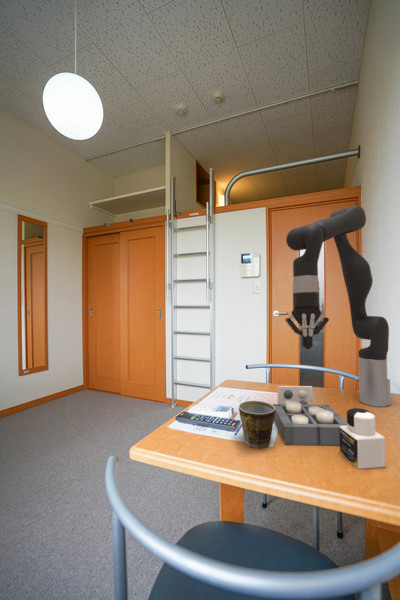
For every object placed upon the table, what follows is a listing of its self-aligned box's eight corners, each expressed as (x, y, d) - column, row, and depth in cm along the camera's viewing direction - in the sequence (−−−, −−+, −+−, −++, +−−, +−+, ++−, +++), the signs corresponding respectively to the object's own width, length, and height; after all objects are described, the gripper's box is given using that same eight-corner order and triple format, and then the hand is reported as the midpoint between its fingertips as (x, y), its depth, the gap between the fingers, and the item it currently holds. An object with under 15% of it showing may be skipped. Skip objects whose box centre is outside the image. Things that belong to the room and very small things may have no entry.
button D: (305, 424, 82) (305, 414, 82) (310, 432, 78) (310, 421, 78) (290, 424, 83) (289, 414, 83) (294, 431, 78) (293, 421, 78)
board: (328, 419, 91) (328, 404, 91) (353, 446, 74) (352, 427, 74) (273, 419, 92) (272, 404, 92) (284, 444, 75) (284, 426, 76)
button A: (321, 415, 89) (321, 406, 89) (326, 421, 84) (326, 412, 84) (306, 415, 89) (306, 406, 89) (311, 421, 84) (311, 411, 84)
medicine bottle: (339, 453, 71) (338, 406, 71) (365, 451, 72) (364, 405, 72) (357, 469, 64) (356, 417, 64) (386, 467, 64) (385, 416, 65)
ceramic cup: (247, 431, 84) (246, 398, 84) (280, 439, 79) (279, 404, 79) (229, 451, 73) (228, 413, 73) (266, 462, 67) (265, 421, 68)
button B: (329, 419, 82) (329, 409, 82) (336, 426, 77) (336, 416, 77) (313, 419, 82) (313, 409, 82) (319, 426, 77) (319, 415, 77)
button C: (298, 410, 89) (298, 401, 89) (303, 416, 85) (303, 406, 85) (284, 410, 90) (284, 401, 90) (287, 416, 85) (287, 406, 85)
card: (312, 411, 98) (311, 386, 98) (313, 412, 97) (312, 387, 97) (277, 411, 99) (277, 385, 99) (278, 412, 98) (278, 386, 98)
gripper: (323, 291, 87) (324, 346, 87) (280, 292, 88) (282, 346, 88) (333, 290, 80) (334, 350, 79) (286, 291, 81) (287, 350, 80)
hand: (307, 348), depth 84 cm, fingers closed
